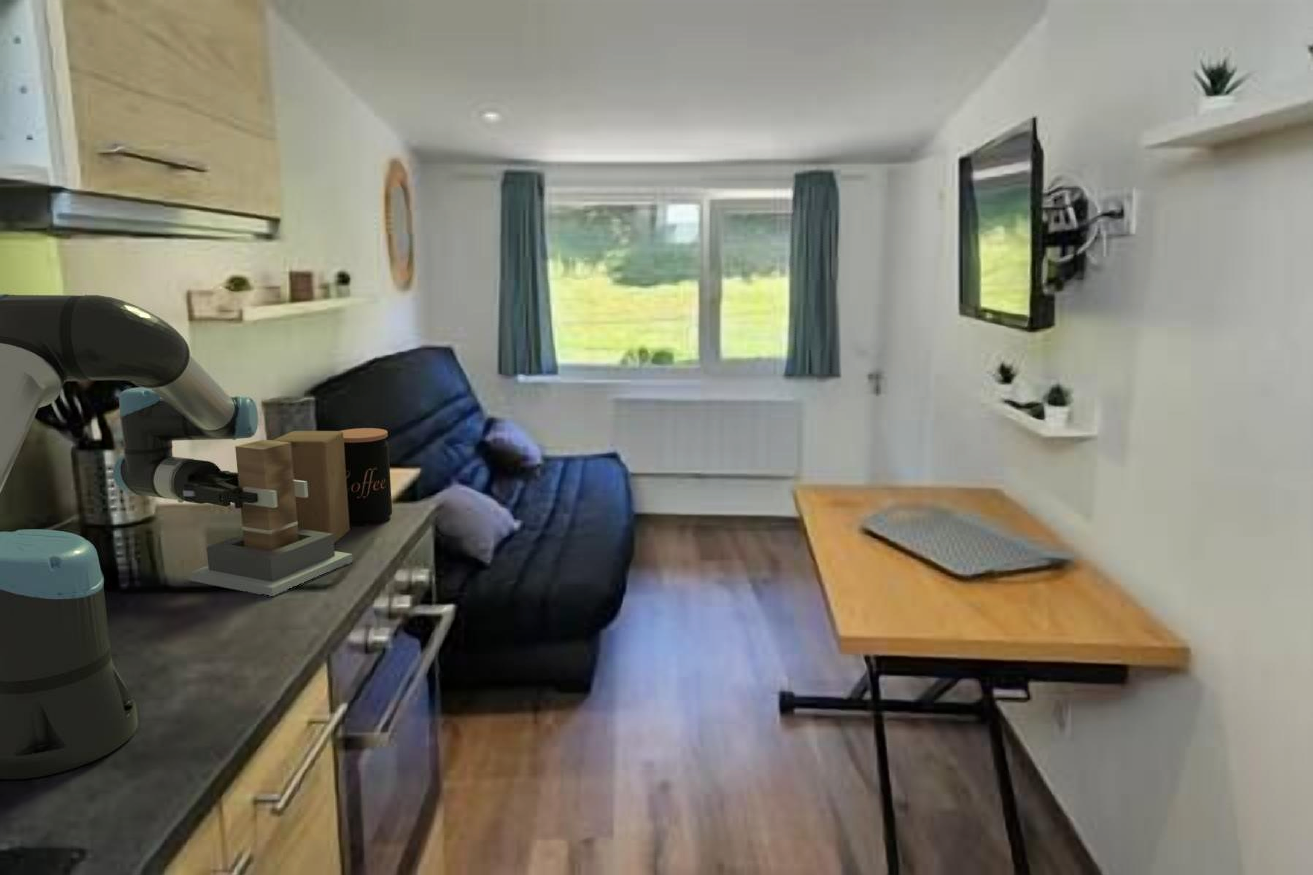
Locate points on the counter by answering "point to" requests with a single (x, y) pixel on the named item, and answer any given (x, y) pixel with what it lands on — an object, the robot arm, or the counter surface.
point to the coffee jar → (367, 476)
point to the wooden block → (320, 480)
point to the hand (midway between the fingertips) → (290, 494)
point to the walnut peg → (272, 471)
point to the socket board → (269, 585)
